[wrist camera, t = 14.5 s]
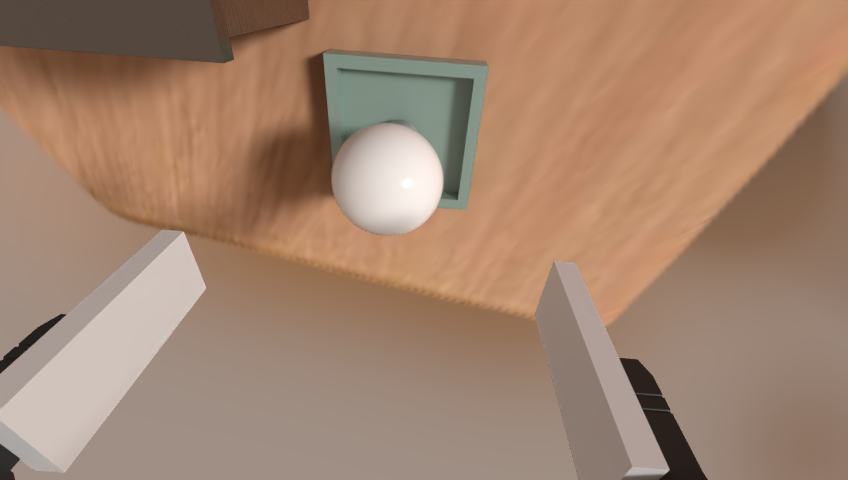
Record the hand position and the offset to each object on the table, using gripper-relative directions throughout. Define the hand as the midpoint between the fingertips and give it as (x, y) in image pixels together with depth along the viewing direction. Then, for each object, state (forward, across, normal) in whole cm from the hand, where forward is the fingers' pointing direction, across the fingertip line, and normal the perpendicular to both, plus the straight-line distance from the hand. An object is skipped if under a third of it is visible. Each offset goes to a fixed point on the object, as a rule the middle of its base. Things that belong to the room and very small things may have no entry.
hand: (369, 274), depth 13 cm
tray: (+17, 0, -1) cm, 17 cm away
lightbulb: (+17, 0, -1) cm, 17 cm away
